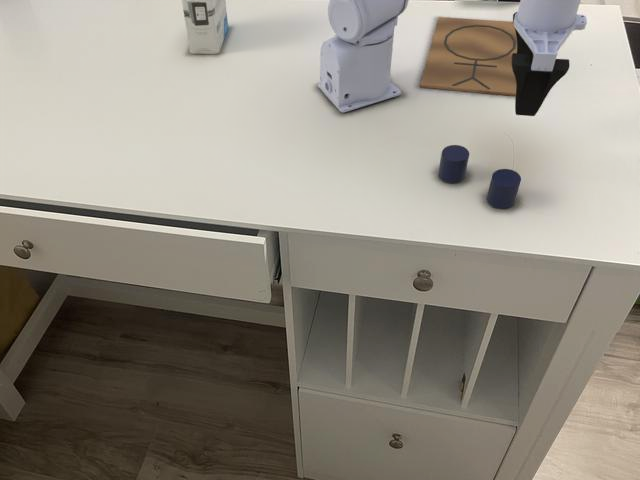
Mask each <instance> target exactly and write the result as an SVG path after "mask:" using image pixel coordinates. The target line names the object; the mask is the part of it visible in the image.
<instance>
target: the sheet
mask: <svg viewBox="0 0 640 480" xmlns="http://www.w3.org/2000/svg"><path fill="white" fill-rule="evenodd" d="M512 53H517V36H516V31H515V27H514V24H513V21H506V20H493V19H492V20H490V19H488V20H487V19H475V18H462V17H461V18H460V17H444V16H438V18H437V21H436V25H435V29H434V34H433V36H432V39H431V43H430V47H429V50H428V53H427V58H426V61H425V65H424V68H423V72H422V75H421V79H420V82H419V88H426V89H427V88H428V89H436V90H446V91H456V92H457V91H458V92H470V93H479V94H489V95H491V94H492V95H500V96H511V97H516V79H515V75H514V73H513V69H512Z"/></svg>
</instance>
